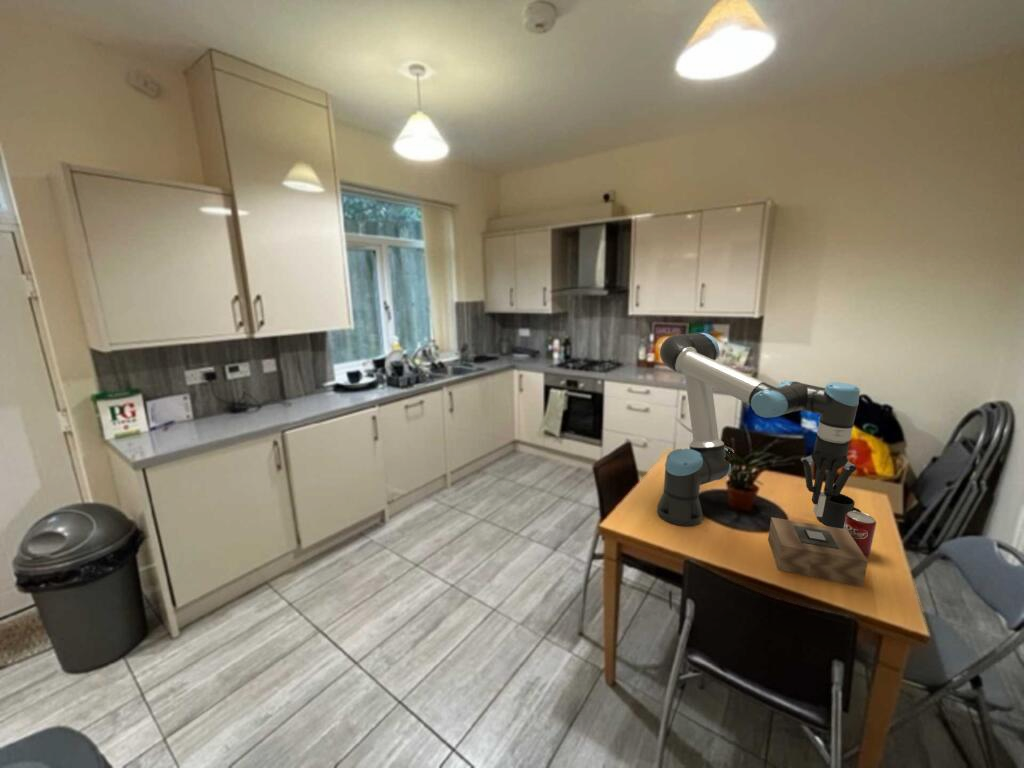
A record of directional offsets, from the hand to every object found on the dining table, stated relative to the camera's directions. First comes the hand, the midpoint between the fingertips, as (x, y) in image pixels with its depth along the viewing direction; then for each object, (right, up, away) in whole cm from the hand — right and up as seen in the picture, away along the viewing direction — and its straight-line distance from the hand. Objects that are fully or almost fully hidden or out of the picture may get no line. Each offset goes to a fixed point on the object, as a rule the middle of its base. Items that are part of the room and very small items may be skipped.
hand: (817, 514), depth 124 cm
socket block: (0, -15, +3) cm, 15 cm away
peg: (0, -14, +3) cm, 15 cm away
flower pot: (+2, 0, +65) cm, 65 cm away
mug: (+23, -10, +23) cm, 34 cm away
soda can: (+16, -14, +7) cm, 23 cm away
